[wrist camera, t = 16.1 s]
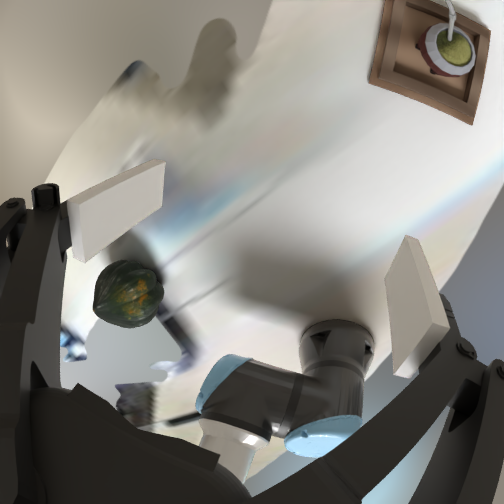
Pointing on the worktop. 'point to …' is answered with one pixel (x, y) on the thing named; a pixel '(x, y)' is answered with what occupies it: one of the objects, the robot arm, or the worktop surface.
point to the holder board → (414, 66)
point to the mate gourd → (447, 48)
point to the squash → (127, 294)
